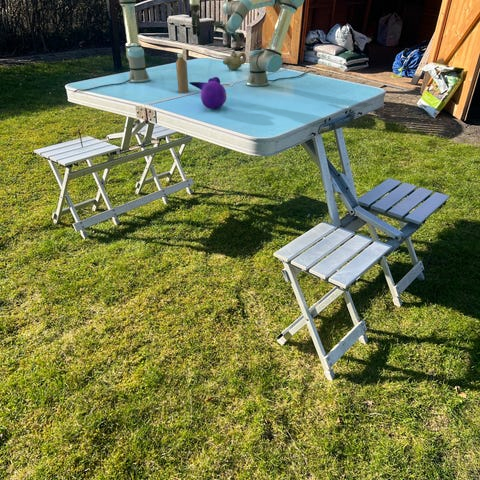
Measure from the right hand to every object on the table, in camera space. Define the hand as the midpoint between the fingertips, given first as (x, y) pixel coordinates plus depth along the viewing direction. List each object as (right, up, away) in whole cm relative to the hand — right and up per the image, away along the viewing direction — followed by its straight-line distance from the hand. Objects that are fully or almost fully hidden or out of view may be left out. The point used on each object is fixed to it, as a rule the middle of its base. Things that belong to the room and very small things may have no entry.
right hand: (224, 34), depth 306 cm
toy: (-7, -61, -38) cm, 72 cm away
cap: (-28, -18, -12) cm, 36 cm away
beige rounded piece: (+6, +1, +66) cm, 67 cm away
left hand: (-23, +19, +43) cm, 53 cm away
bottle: (-28, -39, 0) cm, 48 cm away
